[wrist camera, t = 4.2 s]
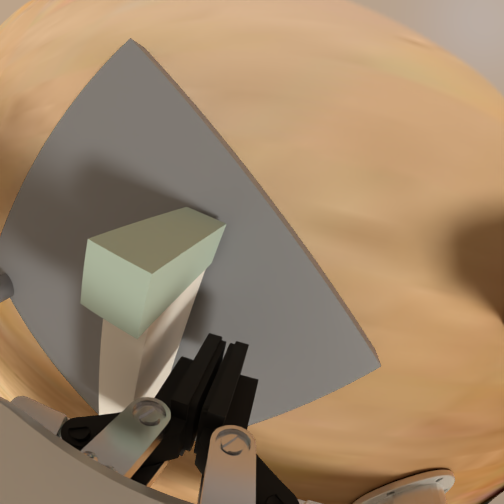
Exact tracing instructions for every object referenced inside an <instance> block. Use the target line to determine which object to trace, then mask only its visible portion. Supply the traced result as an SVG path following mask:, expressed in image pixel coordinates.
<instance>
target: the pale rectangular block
mask: <svg viewBox="0 0 504 504" xmlns="http://www.w3.org/2000/svg"><path fill="white" fill-rule="evenodd" d="M225 227H226V223H224V222H221V221H219V220H217V219H214V218H212V217H210V216H207V215H205V214H203V213H200V212H198V211H196V210H193V209H191V208H189V207H184V208H181V209H177V210H174V211H171V212H167V213H164V214H161V215H158V216H154V217H151V218H148V219H145V220H142V221H138V222H135V223H132V224H129V225H126V226H123V227H120V228H117V229H114V230H111V231H108V232H106V233H103V234H100V235H97V236H94V237H91V238H89V239H88V241H87V247H86V254H85V261H84V270H83V279H82V289H81V302H80V303H81V304H82V305H83V306H85V307H86V308H88V309H89V310H91V311H92V312H94V313H95V314H97V315H98V316H100V317H102V318H103V324H102V335H101V348H100V365H99V415H104V414H111V413H118V412H122V411H123V410H124V409H125V408H126V407H127V406H128V405H129V404H130V403H131V402H133V401H134V400H136V399H138V398H141V397H152V398H155V396H156V394H157V393H158V391H159V390H160V388H161V387H162V385H163V384H164V382H165V381H166V379H167V377H168V376H169V374H170V372H171V369H172V366H173V363H174V360H175V357H176V354H177V351H178V348H179V345H180V342H181V339H182V336H183V333H184V330H185V327H186V324H187V321H188V318H189V315H190V312H191V309H192V306H193V303H194V300H195V298H196V295H197V292H198V289H199V286H200V283H201V281H202V278H203V275H204V272H205V270H206V268H207V267H208V266H209V265H210V264H211V263H212V261H213V258H214V255H215V253H216V250H217V247H218V245H219V242H220V240H221V237H222V234H223V232H224V229H225Z"/></svg>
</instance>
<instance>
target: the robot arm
mask: <svg viewBox="0 0 504 504" xmlns="http://www.w3.org/2000/svg"><path fill="white" fill-rule="evenodd" d="M225 346H226V341H223V340H222V336H218V335H215V334H212V333H209V334H208V335H207V337H206V339H205V341H204V342H203V344H202V346H201V348H200V349H199V351H198V353H197V355H196V356H195V358H194V360H192V359H189V358H186V357H183V356H182V357H181V358H180V359H179V360H178V362H177V364H176V365H175V367H174V368H173V370H172V371H171V373H170V374H169V376H168V377H167V379H166V381H165V382H164V384H163V385H162V387H161V388H160V390H159V391H158V393H157V394H156V396H155V398H152V397H141V398H138V399H136V400H134V401H133V402H131V403H130V404H129V405H128V406H127V407H126V408H125V409H124V410H123V411H122V412H118V413H111V414H104V415H96V416H87V417H76V418H72V419H70V418H68V417H67V416H66V414H63V413H61V412H59V411H56V410H54V409H52V408H49V407H47V406H45V405H43V404H41V403H39V402H37V401H35V400H32V399H30V398H28V397H25V396H18V397H16V398H14V399H13V400H12V401H11V402H9V401H8V400H6V399H4V398H2V397H0V504H193V503H190V502H187V501H184V500H181V499H178V498H175V497H173V496H170V495H167V494H165V493H162V492H159V491H157V490H154V489H152V488H150V487H151V485H152V484H153V483H154V481H155V480H156V479H157V478H158V476H159V475H160V474H161V472H162V471H163V470H164V468H165V467H166V465H167V464H168V462H169V460H172V459H175V458H178V457H179V455H181V456H183V453H184V451H185V450H188V451H190V450H191V448H192V446H193V443H194V441H195V439H196V443H195V449H194V453H196V459H195V465H196V466H197V468H198V469H199V471H200V472H201V474H202V475H201V481H200V488H199V494H198V501H197V504H322V503H318V502H314V501H310V500H307V501H303V500H300V499H297V498H296V496H295V495H294V494H293V493H292V492H291V491H290V490H289V489H288V488H287V487H286V486H285V485H284V484H283V483H282V482H281V481H280V480H279V479H278V478H277V476H276V475H275V474H274V473H273V472H272V471H271V470H270V469H269V468H268V467H267V466H266V465H265V463H264V462H263V461H262V460H261V459H260V458H259V457H258V455H257V454H256V441H255V438H254V437H253V435H252V434H251V433H250V432H249V431H248V430H247V427H248V423H249V419H250V415H251V410H252V406H253V402H254V398H255V393H256V389H257V385H258V379H255V378H251V377H247V376H244V375H241V371H242V368H243V364H244V361H245V357H246V354H247V350H248V346H249V344H246V343H242V342H239V341H236V342H235V344H233V343H230V344H229V346H228V348H227V351H226V353H225V355H224V351H225ZM223 355H224V358H223ZM196 436H197V437H196ZM454 482H455V477H454V474H453V472H452V471H450V470H434V471H428V472H424V473H420V474H417V475H413V476H410V477H407V478H404V479H401V480H398V481H395V482H393V483H390V484H388V485H385V486H383V487H380V488H378V489H376V490H373V491H371V492H369V493H367V494H365V495H364V496H362V497H360V498H359V499H357V500H356V501H355V502H354V503H353V504H447V501H446V497H445V493H446V492H447V491H448V490H449V489H450V488H451V487H452V486H453V484H454Z"/></svg>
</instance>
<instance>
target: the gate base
mask: <svg viewBox="0 0 504 504" xmlns="http://www.w3.org/2000/svg"><path fill="white" fill-rule="evenodd" d="M184 207H189V208H191V209H193V210H196V211H198V212H200V213H203V214H205V215H207V216H210V217H212V218H214V219H217V220H219V221H221V222H224V223H226V227H225V229H224V232H223V234H222V237H221V240H220V242H219V245H218V247H217V250H216V253H215V255H214V258H213V261H212V263H211V264H210V265H209V266H208V267H207V268H206V270H205V272H204V275H203V278H202V281H201V283H200V286H199V289H198V292H197V295H196V298H195V300H194V303H193V306H192V309H191V312H190V315H189V318H188V321H187V324H186V327H185V330H184V333H183V336H182V339H181V342H180V345H179V348H178V351H177V354H176V357H175V360H174V363H173V366H172V369H171V371H172V370H173V368H174V367H175V365H176V364H177V362H178V360H179V359H180V358H181V357H182V356H183V357H186V358H189V359H192V360H194V358H195V356H196V355H197V353H198V351H199V349H200V348H201V346H202V344H203V342H204V341H205V339H206V337H207V335H208V334H209V333H212V334H215V335H218V336H222V340H223V341H226V346H225V351H224V355H225V353H226V351H227V348H228V346H229V344H230V343H233V344H235V342H236V341H239V342H242V343H246V344H249V346H248V350H247V354H246V357H245V361H244V364H243V368H242V371H241V375H244V376H247V377H251V378H255V379H258V385H257V389H256V393H255V398H254V402H253V406H252V410H251V415H250V419H249V423H248V426H249V425H252V424H255V423H258V422H261V421H264V420H267V419H269V418H272V417H275V416H277V415H280V414H283V413H285V412H288V411H290V410H293V409H295V408H298V407H300V406H303V405H305V404H307V403H310V402H312V401H314V400H316V399H319V398H321V397H323V396H325V395H327V394H329V393H331V392H334V391H336V390H338V389H340V388H342V387H344V386H346V385H348V384H350V383H352V382H354V381H355V380H357V379H359V378H361V377H363V376H365V375H367V374H368V373H370V372H372V371H374V370H376V369H377V368H379V367H381V364H380V361H379V359H378V356H377V353H376V350H375V349H374V347H373V346H372V344H371V342H370V341H369V339H368V338H367V336H366V335H365V333H364V331H363V330H362V328H361V327H360V325H359V324H358V322H357V321H356V319H355V318H354V316H353V315H352V313H351V312H350V310H349V309H348V307H347V306H346V304H345V303H344V301H343V300H342V298H341V297H340V295H339V294H338V292H337V291H336V289H335V288H334V286H333V285H332V283H331V282H330V281H329V279H328V278H327V276H326V275H325V273H324V272H323V270H322V269H321V268H320V266H319V265H318V263H317V262H316V260H315V259H314V258H313V256H312V255H311V253H310V252H309V251H308V249H307V248H306V246H305V245H304V244H303V242H302V241H301V239H300V238H299V237H298V235H297V234H296V233H295V231H294V230H293V228H292V227H291V226H290V224H289V223H288V222H287V220H286V219H285V218H284V216H283V215H282V214H281V212H280V211H279V210H278V208H277V207H276V206H275V204H274V203H273V202H272V200H271V199H270V198H269V196H268V195H267V194H266V192H265V191H264V190H263V188H262V187H261V186H260V184H259V183H258V182H257V181H256V179H255V178H254V177H253V175H252V174H251V173H250V172H249V170H248V169H247V168H246V166H245V165H244V164H243V163H242V161H241V160H240V159H239V158H238V156H237V155H236V154H235V153H234V151H233V150H232V149H231V148H230V146H229V145H228V144H227V143H226V141H225V140H224V139H223V138H222V136H221V135H220V134H219V133H218V132H217V130H216V129H215V128H214V127H213V126H212V124H211V123H210V122H209V121H208V119H207V118H206V117H205V116H204V115H203V114H202V112H201V111H200V110H199V109H198V108H197V106H196V105H195V104H194V103H193V102H192V101H191V99H190V98H189V97H188V96H187V95H186V94H185V92H184V91H183V90H182V89H181V88H180V87H179V86H178V84H177V83H176V82H175V81H174V80H173V79H172V78H171V76H170V75H169V74H168V73H167V72H166V71H165V70H164V69H163V68H162V66H161V65H160V64H159V63H158V62H157V61H156V60H155V59H154V58H153V56H152V55H151V54H150V53H149V52H148V51H147V50H146V49H145V48H144V47H143V46H141V45H140V44H138V43H137V42H135V41H134V40H132V39H131V38H130V39H129V40H128V41H127V42H126V43H125V44H124V45H123V46H122V47H121V48H120V49H119V50H118V51H117V52H116V53H115V54H114V55H113V56H112V57H111V58H110V59H109V60H108V61H107V62H106V63H105V64H104V66H103V67H102V68H101V69H100V70H99V71H98V72H97V73H96V75H95V76H94V77H93V78H92V79H91V80H90V82H89V83H88V84H87V85H86V86H85V88H84V89H83V90H82V91H81V93H80V94H79V95H78V96H77V98H76V99H75V100H74V102H73V103H72V104H71V106H70V107H69V108H68V110H67V111H66V112H65V114H64V115H63V117H62V118H61V120H60V121H59V122H58V124H57V125H56V127H55V128H54V130H53V131H52V133H51V135H50V136H49V138H48V139H47V141H46V143H45V144H44V146H43V147H42V149H41V151H40V153H39V154H38V156H37V158H36V160H35V161H34V163H33V165H32V167H31V169H30V171H29V172H28V174H27V176H26V178H25V180H24V182H23V184H22V186H21V188H20V190H19V193H18V195H17V197H16V199H15V201H14V204H13V206H12V208H11V210H10V213H9V215H8V218H7V220H6V223H5V225H4V228H3V231H2V233H1V236H0V302H2V301H4V300H6V299H8V298H10V299H11V300H12V302H13V304H14V306H15V307H16V309H17V311H18V313H19V314H20V316H21V317H22V319H23V321H24V322H25V324H26V325H27V327H28V329H29V330H30V332H31V333H32V335H33V336H34V338H35V339H36V340H37V342H38V343H39V345H40V346H41V348H42V349H43V350H44V352H45V353H46V354H47V356H48V357H49V358H50V360H51V361H52V362H53V364H54V365H55V366H56V367H57V369H58V370H59V371H60V372H61V374H62V375H63V376H64V377H65V379H66V380H67V381H68V382H69V383H70V384H71V386H72V387H73V388H74V389H75V390H76V391H77V392H78V394H79V395H80V396H81V397H82V398H83V399H84V400H85V401H86V402H87V403H88V404H89V405H90V406H91V407H92V408H93V409H94V410H95V411H96V412H97V413H98V414H99V365H100V348H101V335H102V324H103V318H102V317H100V316H98V315H97V314H95V313H94V312H92V311H91V310H89V309H88V308H86V307H85V306H83V305H82V304H81V303H80V302H81V289H82V279H83V270H84V261H85V254H86V247H87V241H88V239H89V238H91V237H94V236H97V235H100V234H103V233H106V232H108V231H111V230H114V229H117V228H120V227H123V226H126V225H129V224H132V223H135V222H138V221H142V220H145V219H148V218H151V217H154V216H158V215H161V214H164V213H167V212H171V211H174V210H177V209H181V208H184ZM224 355H223V358H224ZM170 373H171V372H170ZM196 437H197V436H196ZM195 441H196V439H195Z"/></svg>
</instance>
